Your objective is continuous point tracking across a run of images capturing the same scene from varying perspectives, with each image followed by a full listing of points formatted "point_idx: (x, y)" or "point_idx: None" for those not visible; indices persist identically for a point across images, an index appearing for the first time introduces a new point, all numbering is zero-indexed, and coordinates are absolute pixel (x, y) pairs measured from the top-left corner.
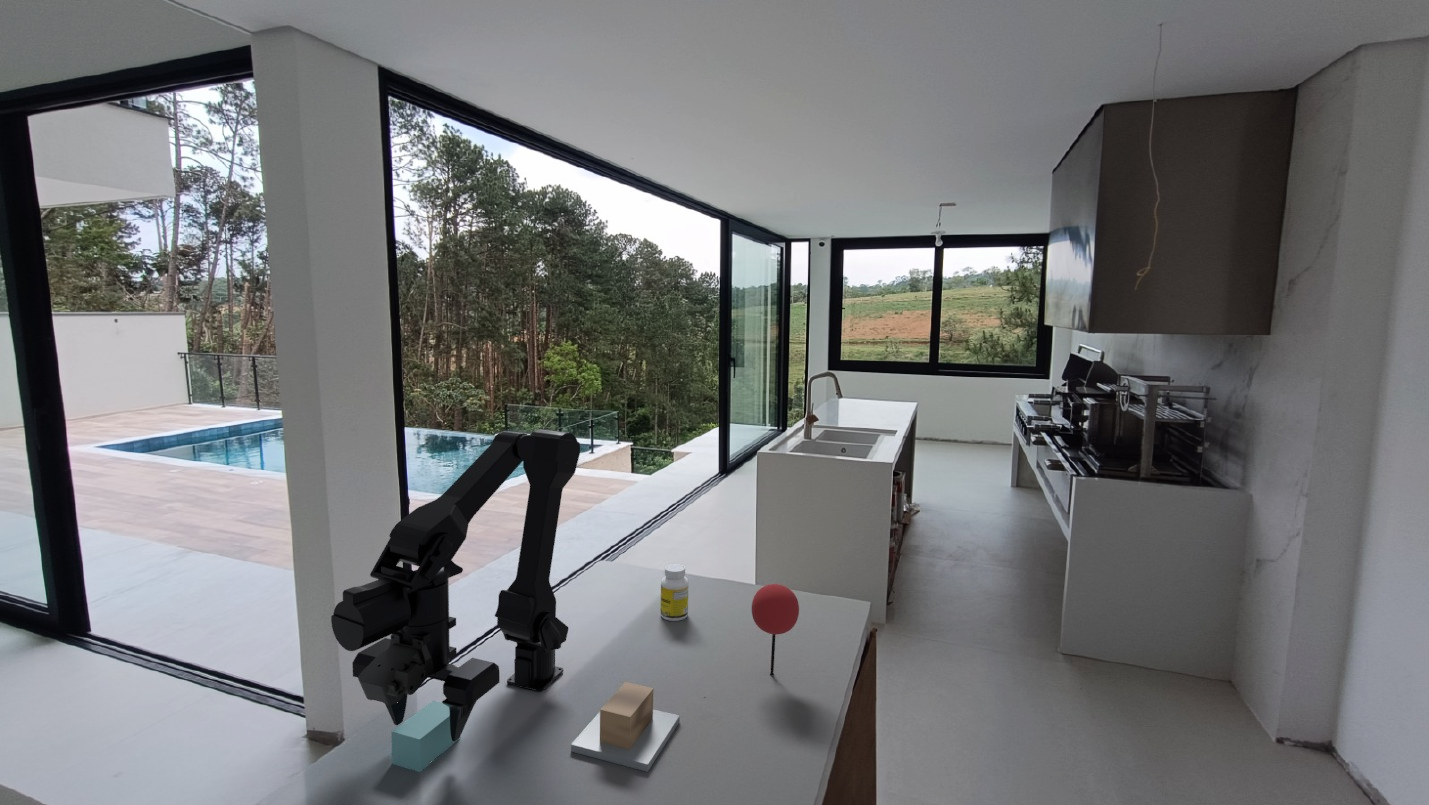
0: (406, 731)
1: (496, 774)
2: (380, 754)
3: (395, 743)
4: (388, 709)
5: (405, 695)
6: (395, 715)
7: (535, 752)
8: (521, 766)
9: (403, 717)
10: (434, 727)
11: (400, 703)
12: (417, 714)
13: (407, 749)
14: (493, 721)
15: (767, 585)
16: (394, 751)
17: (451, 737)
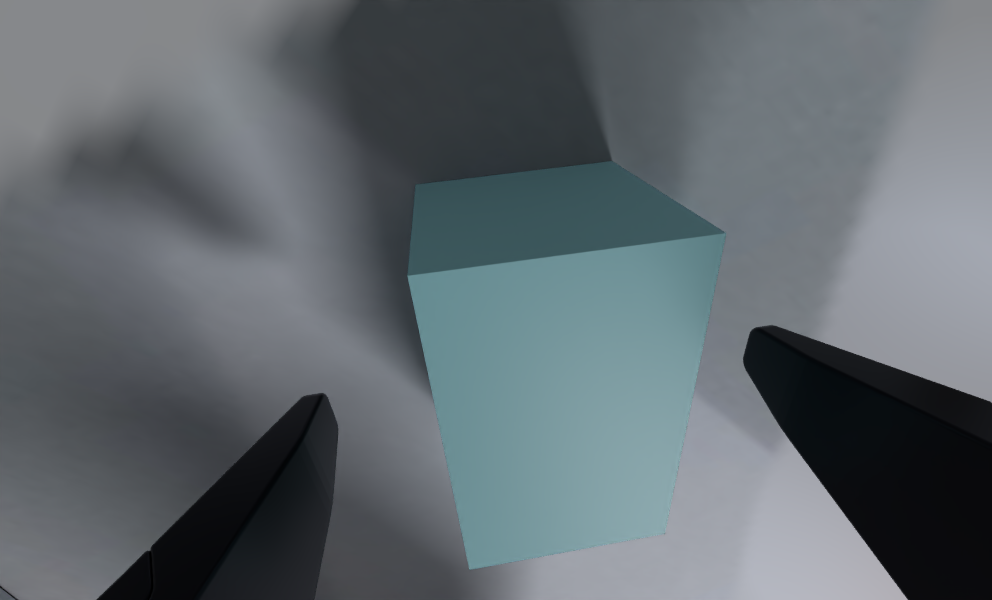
0: (603, 291)
1: (57, 354)
2: (721, 185)
3: (640, 205)
4: (903, 376)
5: (861, 515)
6: (810, 366)
7: (88, 505)
8: (29, 436)
9: (754, 382)
10: (440, 415)
11: (848, 450)
12: (666, 435)
13: (523, 211)
14: (423, 521)
15: None
16: (625, 186)
17: (313, 408)
